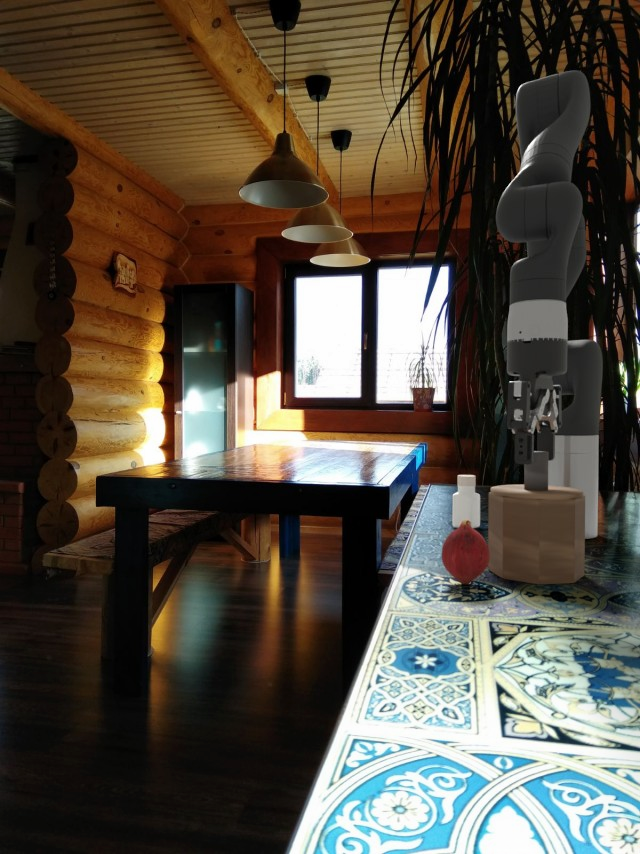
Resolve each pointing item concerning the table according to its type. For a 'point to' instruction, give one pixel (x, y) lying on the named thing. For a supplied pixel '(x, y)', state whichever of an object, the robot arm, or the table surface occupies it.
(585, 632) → the table surface
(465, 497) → the pepper shaker
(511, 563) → the tan jar with knob
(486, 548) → the onion
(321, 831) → the table surface
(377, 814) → the table surface
